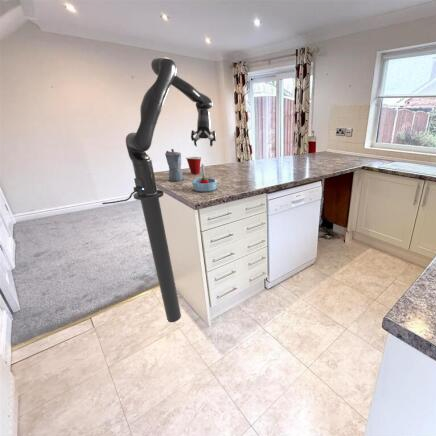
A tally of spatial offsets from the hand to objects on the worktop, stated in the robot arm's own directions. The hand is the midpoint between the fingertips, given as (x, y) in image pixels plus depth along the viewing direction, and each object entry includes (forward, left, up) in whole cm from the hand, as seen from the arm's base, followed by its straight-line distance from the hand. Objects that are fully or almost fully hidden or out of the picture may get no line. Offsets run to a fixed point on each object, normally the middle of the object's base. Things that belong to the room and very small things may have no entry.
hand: (203, 145), depth 148 cm
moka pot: (-4, +24, -24) cm, 34 cm away
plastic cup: (+16, +27, -24) cm, 39 cm away
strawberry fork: (-9, -7, -23) cm, 26 cm away
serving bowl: (-9, -7, -24) cm, 26 cm away
